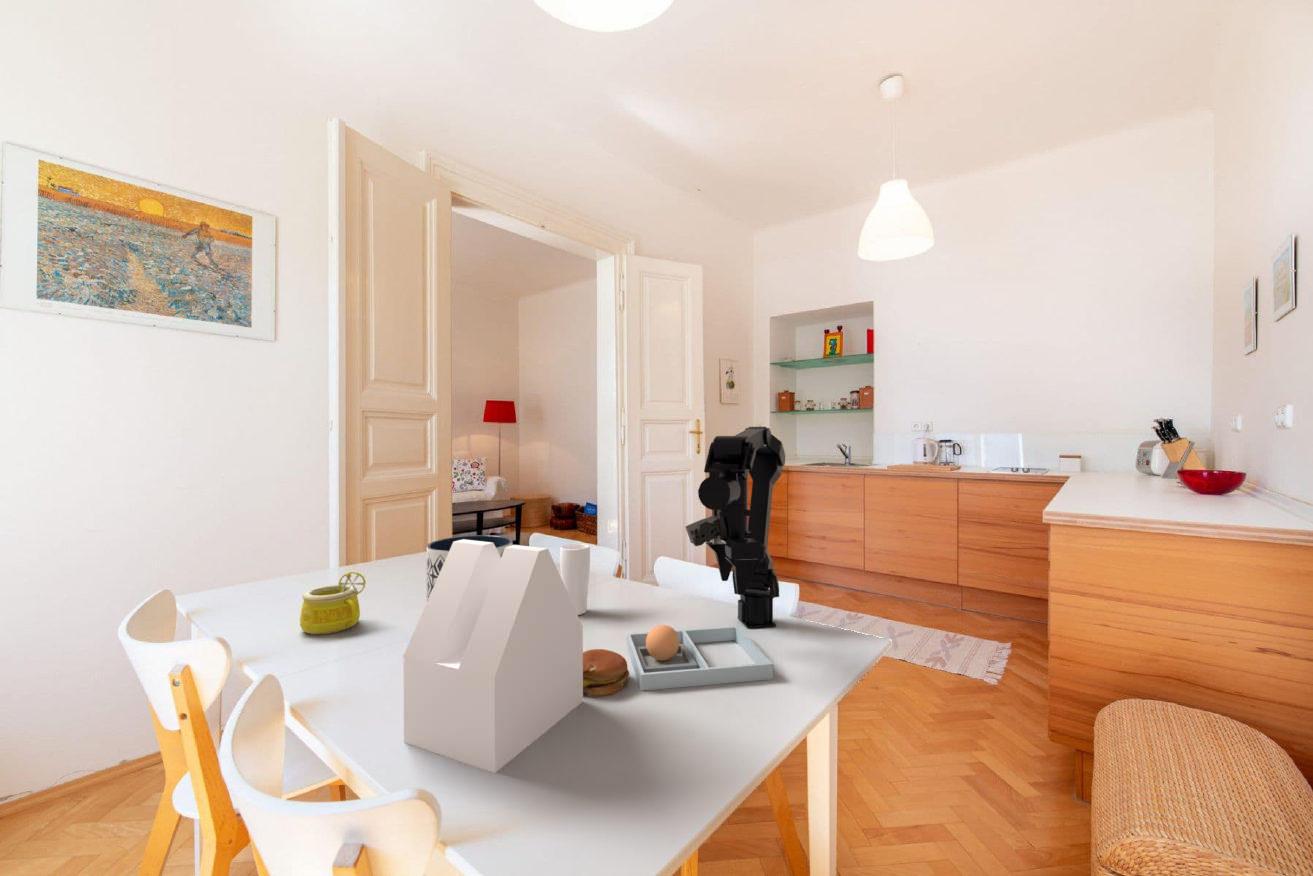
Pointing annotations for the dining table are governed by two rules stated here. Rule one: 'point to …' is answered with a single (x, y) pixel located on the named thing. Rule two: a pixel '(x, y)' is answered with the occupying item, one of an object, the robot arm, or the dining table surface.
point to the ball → (662, 642)
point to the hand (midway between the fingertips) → (732, 587)
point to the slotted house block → (492, 655)
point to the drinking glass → (576, 573)
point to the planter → (441, 548)
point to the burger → (603, 672)
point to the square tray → (678, 662)
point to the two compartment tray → (702, 661)
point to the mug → (331, 607)
